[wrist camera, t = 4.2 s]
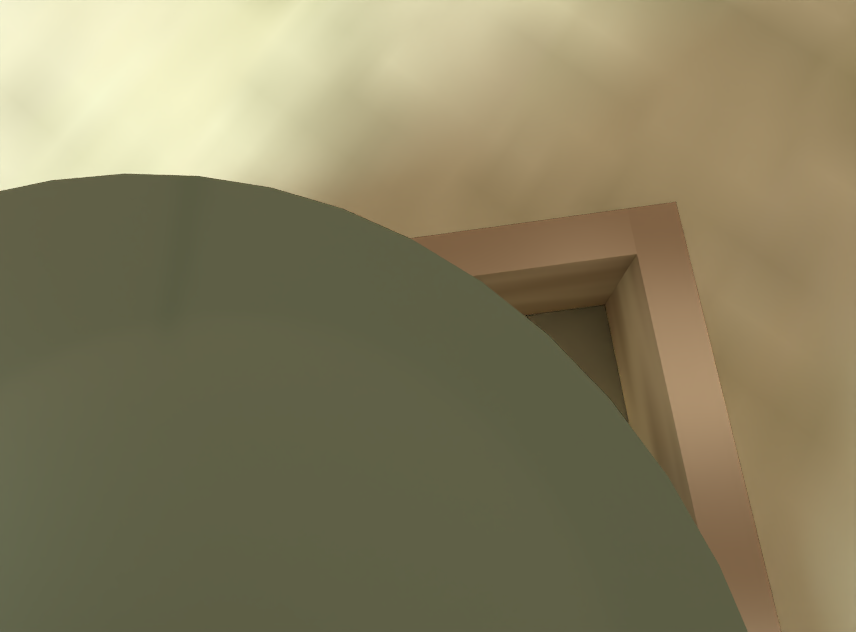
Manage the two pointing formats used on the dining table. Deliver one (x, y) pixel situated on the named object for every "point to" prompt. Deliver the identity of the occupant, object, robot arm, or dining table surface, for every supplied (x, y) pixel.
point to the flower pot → (306, 433)
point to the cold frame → (640, 356)
